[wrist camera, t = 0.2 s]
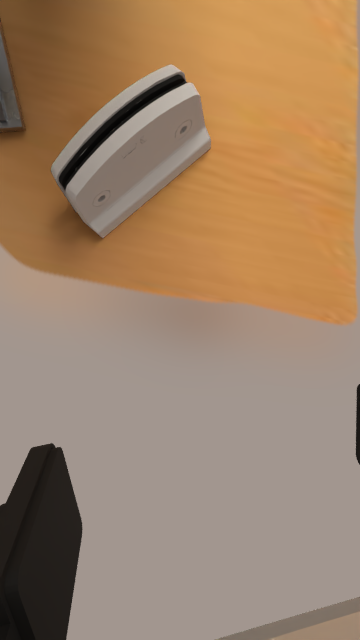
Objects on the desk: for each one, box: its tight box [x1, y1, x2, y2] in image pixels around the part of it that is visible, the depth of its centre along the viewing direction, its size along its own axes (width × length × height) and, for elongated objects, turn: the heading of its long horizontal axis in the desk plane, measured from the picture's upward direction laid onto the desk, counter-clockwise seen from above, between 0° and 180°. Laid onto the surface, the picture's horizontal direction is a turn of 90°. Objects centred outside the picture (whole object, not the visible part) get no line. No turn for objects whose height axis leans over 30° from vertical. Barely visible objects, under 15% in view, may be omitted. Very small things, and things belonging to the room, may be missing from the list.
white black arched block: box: [51, 65, 211, 238], centre depth 32 cm, size 17×5×10 cm, turn 128°
